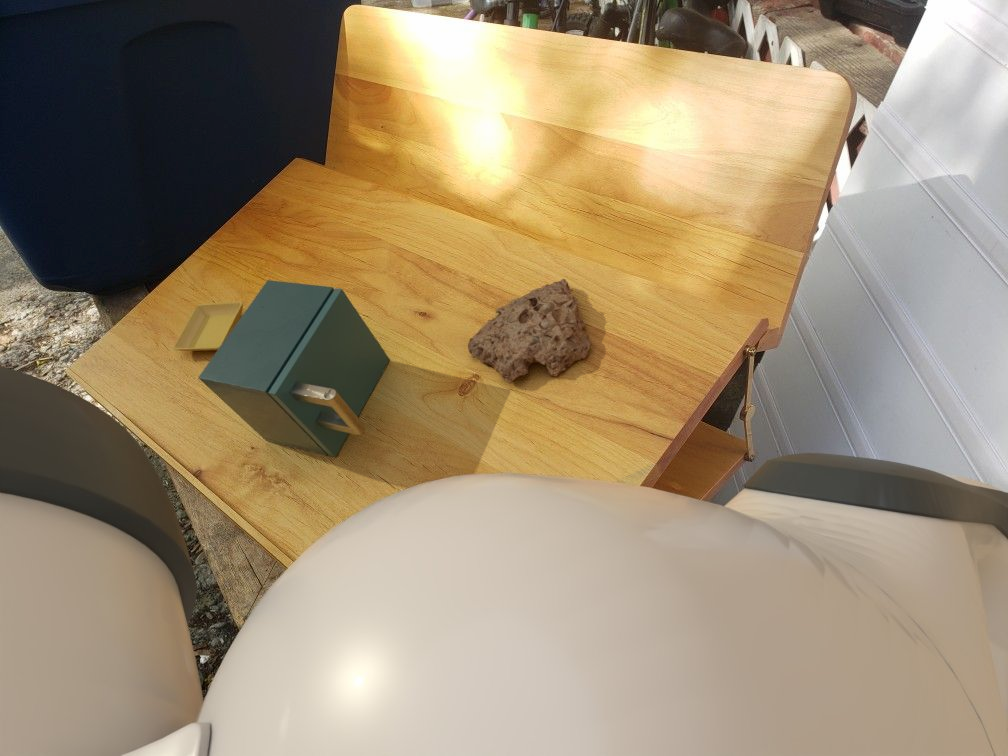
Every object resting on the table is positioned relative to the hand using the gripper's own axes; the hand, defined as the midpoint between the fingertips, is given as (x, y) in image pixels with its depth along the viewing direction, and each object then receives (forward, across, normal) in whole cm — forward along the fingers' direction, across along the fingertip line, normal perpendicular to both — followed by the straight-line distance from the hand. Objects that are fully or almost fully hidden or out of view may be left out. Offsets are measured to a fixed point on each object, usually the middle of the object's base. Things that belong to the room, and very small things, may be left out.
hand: (555, 607), depth 51 cm
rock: (+17, -32, +12) cm, 38 cm away
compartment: (+41, -19, +12) cm, 47 cm away
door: (+32, -19, +11) cm, 39 cm away
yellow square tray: (+66, -26, +12) cm, 72 cm away
